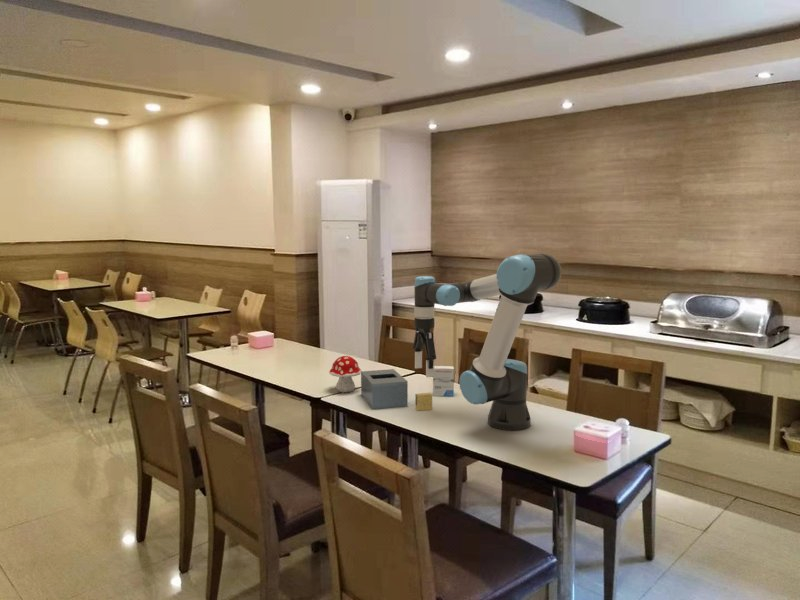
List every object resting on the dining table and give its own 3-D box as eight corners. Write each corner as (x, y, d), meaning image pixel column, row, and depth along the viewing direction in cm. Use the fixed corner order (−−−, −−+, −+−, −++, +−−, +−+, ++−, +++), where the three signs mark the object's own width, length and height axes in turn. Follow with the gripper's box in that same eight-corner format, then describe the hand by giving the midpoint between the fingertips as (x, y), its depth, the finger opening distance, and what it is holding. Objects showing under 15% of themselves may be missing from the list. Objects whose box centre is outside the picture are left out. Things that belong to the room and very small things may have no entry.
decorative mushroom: (323, 393, 248) (322, 358, 246) (338, 384, 261) (337, 351, 259) (353, 396, 243) (353, 361, 242) (367, 388, 256) (366, 354, 254)
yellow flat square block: (432, 409, 227) (432, 394, 227) (417, 410, 226) (417, 395, 225) (430, 407, 230) (430, 392, 229) (415, 408, 228) (415, 393, 227)
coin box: (407, 406, 231) (407, 381, 230) (372, 409, 227) (372, 384, 226) (393, 392, 250) (393, 369, 249) (361, 394, 246) (361, 371, 245)
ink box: (453, 393, 249) (454, 365, 247) (453, 396, 244) (453, 368, 242) (433, 392, 250) (433, 365, 248) (432, 396, 245) (433, 368, 243)
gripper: (445, 322, 212) (444, 380, 215) (423, 312, 236) (422, 364, 239) (425, 323, 210) (425, 381, 213) (405, 312, 234) (405, 365, 237)
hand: (423, 372), depth 226 cm, fingers open, 13 cm apart
